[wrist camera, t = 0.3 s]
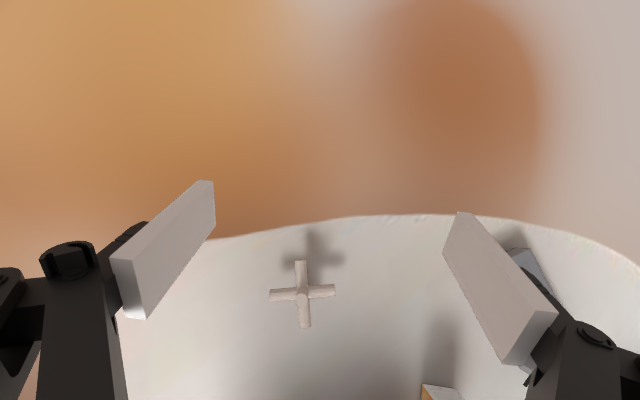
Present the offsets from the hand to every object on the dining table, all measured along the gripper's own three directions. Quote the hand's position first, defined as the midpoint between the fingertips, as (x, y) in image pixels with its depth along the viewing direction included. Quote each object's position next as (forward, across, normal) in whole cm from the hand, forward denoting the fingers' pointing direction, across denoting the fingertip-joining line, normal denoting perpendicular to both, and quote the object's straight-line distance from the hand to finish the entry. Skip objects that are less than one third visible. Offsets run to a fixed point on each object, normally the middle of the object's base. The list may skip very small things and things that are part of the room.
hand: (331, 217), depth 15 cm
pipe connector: (+24, +2, +28) cm, 37 cm away
